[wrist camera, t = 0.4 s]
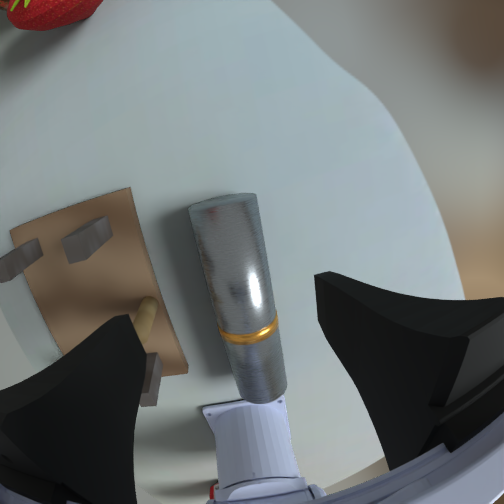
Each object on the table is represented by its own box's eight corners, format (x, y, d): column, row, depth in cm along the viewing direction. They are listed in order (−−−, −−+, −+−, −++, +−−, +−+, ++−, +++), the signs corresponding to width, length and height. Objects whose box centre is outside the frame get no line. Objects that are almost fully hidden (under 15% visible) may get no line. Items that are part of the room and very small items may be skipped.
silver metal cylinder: (278, 363, 23) (295, 394, 20) (233, 377, 23) (244, 410, 19) (247, 190, 18) (266, 197, 15) (186, 204, 18) (188, 215, 14)
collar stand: (188, 365, 22) (185, 414, 17) (83, 375, 21) (66, 416, 16) (130, 187, 17) (98, 200, 12) (16, 227, 16) (-26, 249, 11)
